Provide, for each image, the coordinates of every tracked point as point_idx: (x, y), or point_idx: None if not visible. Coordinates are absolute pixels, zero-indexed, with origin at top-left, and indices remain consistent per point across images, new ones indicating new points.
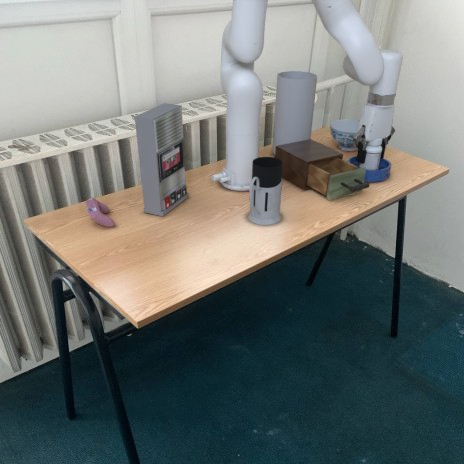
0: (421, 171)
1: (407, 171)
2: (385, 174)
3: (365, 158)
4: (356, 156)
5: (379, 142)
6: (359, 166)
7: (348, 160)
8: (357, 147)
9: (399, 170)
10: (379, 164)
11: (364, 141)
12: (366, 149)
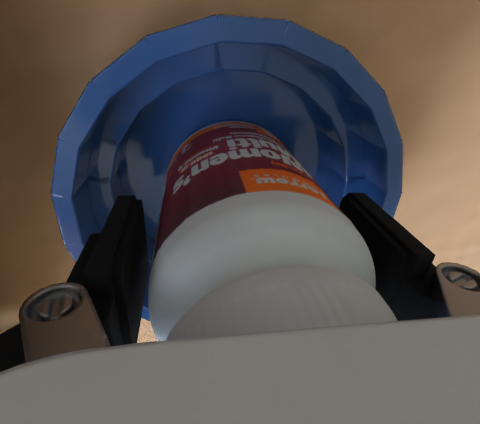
0: (474, 263)
1: (435, 238)
2: None
3: (144, 292)
4: (260, 43)
5: None
6: (165, 183)
7: (100, 93)
8: (34, 309)
9: (422, 213)
10: (346, 189)
11: (181, 326)
12: (156, 332)
